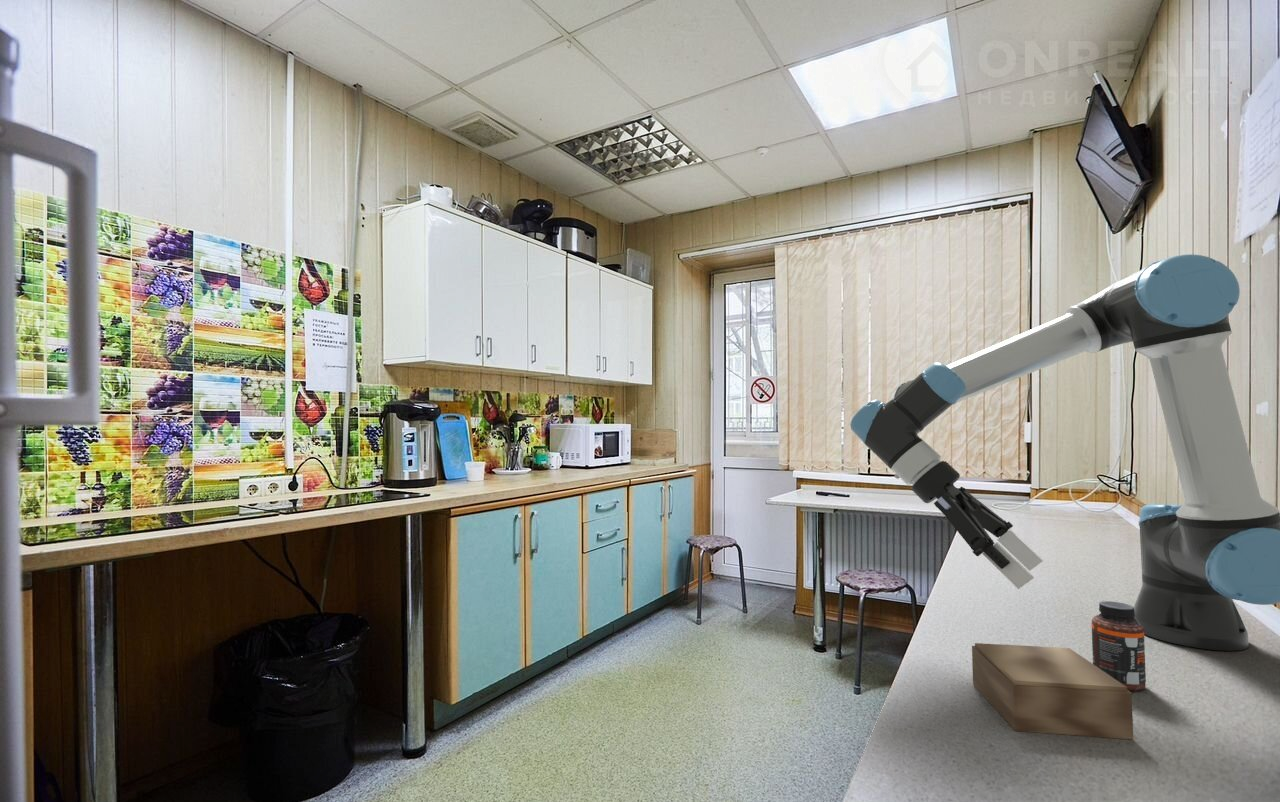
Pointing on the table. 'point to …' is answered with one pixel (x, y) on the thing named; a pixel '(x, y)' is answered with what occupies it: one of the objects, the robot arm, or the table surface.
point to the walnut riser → (1052, 691)
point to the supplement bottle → (1119, 644)
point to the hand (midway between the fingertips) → (1031, 574)
